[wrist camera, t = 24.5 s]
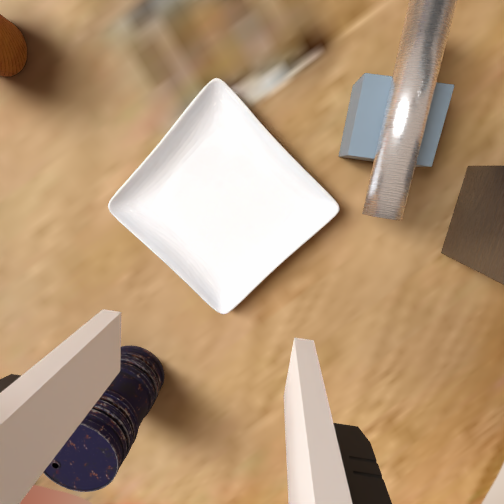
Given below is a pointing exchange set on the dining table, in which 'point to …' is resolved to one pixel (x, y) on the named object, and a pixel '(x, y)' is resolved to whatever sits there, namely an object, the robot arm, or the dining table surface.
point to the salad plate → (222, 199)
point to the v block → (372, 113)
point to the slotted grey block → (479, 222)
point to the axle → (408, 106)
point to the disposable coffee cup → (11, 49)
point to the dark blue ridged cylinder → (109, 425)
